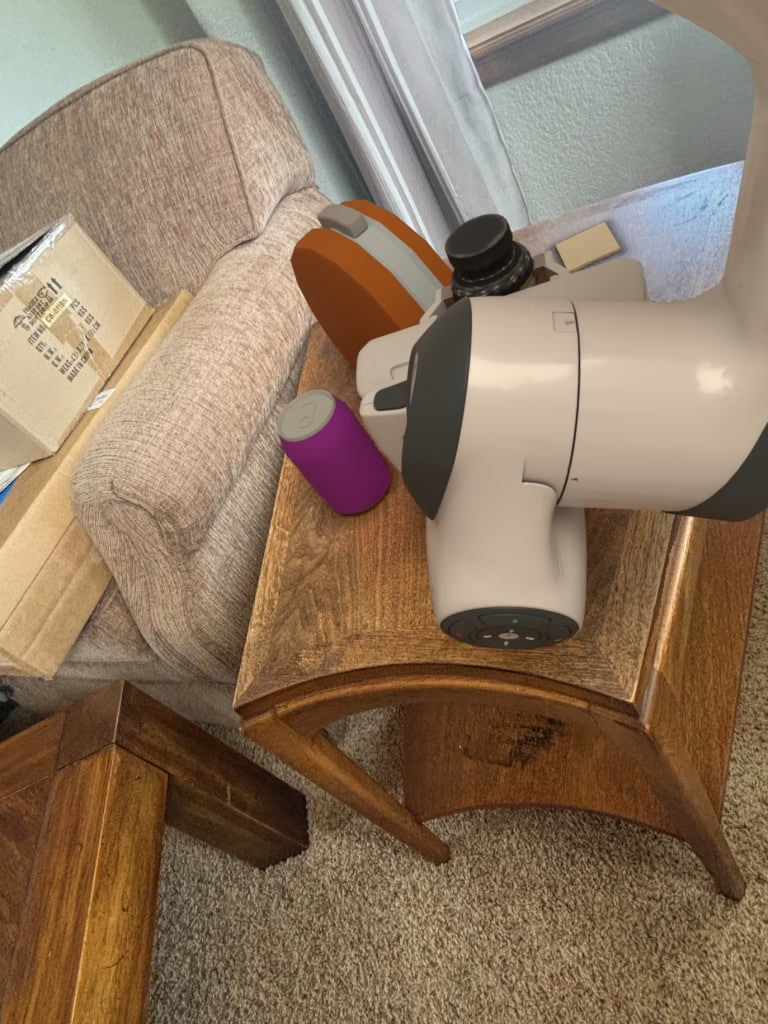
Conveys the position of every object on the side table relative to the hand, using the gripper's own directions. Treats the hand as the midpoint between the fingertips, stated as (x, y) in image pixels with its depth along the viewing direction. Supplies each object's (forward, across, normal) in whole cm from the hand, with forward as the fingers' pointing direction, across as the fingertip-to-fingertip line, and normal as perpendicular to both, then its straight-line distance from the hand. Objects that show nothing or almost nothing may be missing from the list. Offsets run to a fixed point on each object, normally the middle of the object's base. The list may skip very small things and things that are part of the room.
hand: (494, 277), depth 55 cm
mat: (+29, -5, +20) cm, 36 cm away
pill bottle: (-1, 0, +7) cm, 7 cm away
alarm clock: (+14, +13, +20) cm, 28 cm away
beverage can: (+1, +21, +20) cm, 29 cm away
